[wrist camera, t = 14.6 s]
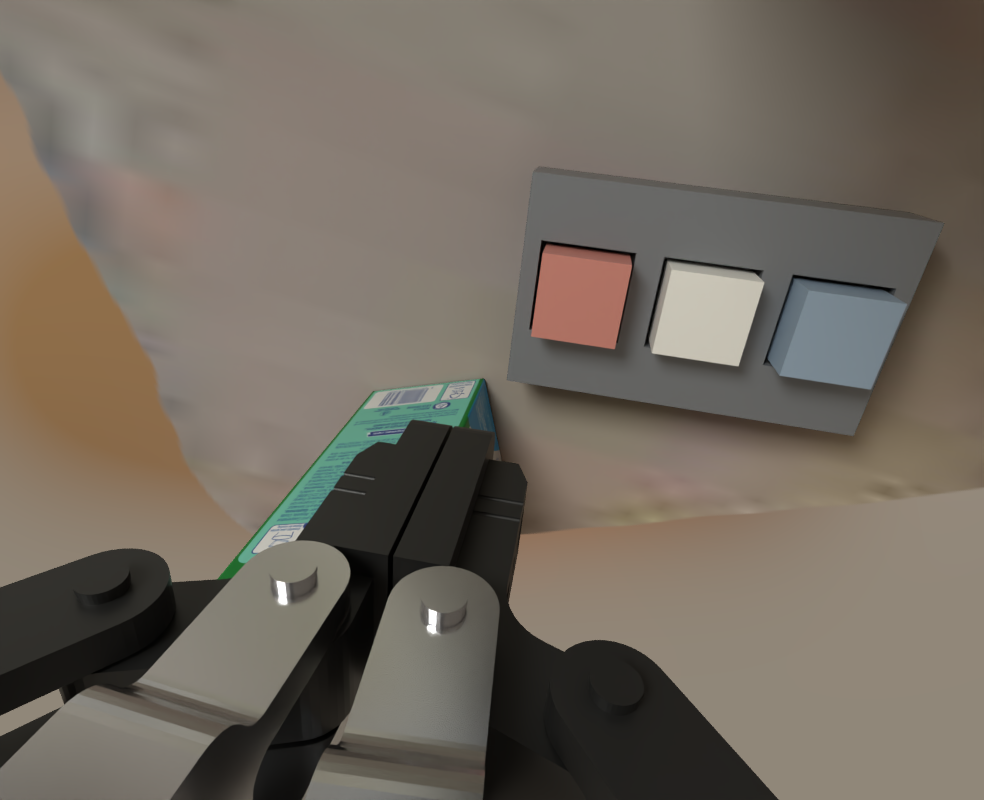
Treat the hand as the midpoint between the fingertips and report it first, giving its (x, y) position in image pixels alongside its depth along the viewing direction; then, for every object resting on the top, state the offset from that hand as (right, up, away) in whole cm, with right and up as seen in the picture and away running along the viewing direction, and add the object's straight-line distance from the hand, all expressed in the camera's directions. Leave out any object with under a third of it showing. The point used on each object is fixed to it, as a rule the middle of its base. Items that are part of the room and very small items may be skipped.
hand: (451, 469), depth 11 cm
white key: (+13, +7, +26) cm, 30 cm away
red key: (+6, +8, +26) cm, 28 cm away
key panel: (+14, +8, +28) cm, 32 cm away
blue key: (+20, +6, +24) cm, 32 cm away
